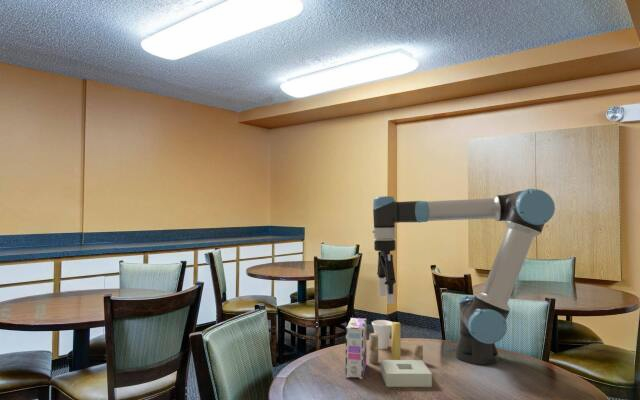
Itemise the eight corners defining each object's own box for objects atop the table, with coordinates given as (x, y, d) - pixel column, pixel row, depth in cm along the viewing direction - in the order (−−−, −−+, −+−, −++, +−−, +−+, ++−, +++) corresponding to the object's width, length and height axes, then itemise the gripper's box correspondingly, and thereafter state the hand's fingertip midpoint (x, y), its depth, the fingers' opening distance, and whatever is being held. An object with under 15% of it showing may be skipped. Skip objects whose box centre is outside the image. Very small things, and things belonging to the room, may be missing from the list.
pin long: (399, 360, 151) (399, 322, 151) (401, 364, 148) (401, 324, 148) (390, 360, 151) (390, 322, 151) (392, 364, 148) (392, 324, 148)
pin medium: (377, 360, 151) (377, 333, 151) (379, 364, 148) (378, 335, 148) (368, 360, 151) (368, 333, 151) (370, 364, 148) (370, 335, 148)
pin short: (421, 361, 151) (421, 344, 151) (423, 364, 148) (423, 347, 148) (412, 361, 151) (412, 344, 151) (414, 364, 148) (414, 347, 148)
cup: (371, 350, 162) (371, 324, 163) (372, 343, 172) (372, 318, 172) (394, 351, 161) (394, 325, 161) (394, 344, 170) (393, 319, 170)
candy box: (363, 379, 134) (363, 328, 134) (345, 378, 135) (345, 327, 135) (366, 364, 147) (367, 317, 148) (350, 363, 148) (350, 317, 149)
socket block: (421, 372, 140) (421, 360, 141) (431, 386, 128) (431, 373, 129) (380, 371, 140) (380, 360, 140) (386, 386, 128) (386, 373, 128)
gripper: (368, 238, 161) (370, 293, 160) (380, 241, 136) (382, 307, 135) (388, 237, 161) (389, 292, 160) (403, 241, 136) (405, 306, 136)
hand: (386, 299), depth 148 cm, fingers open, 13 cm apart
